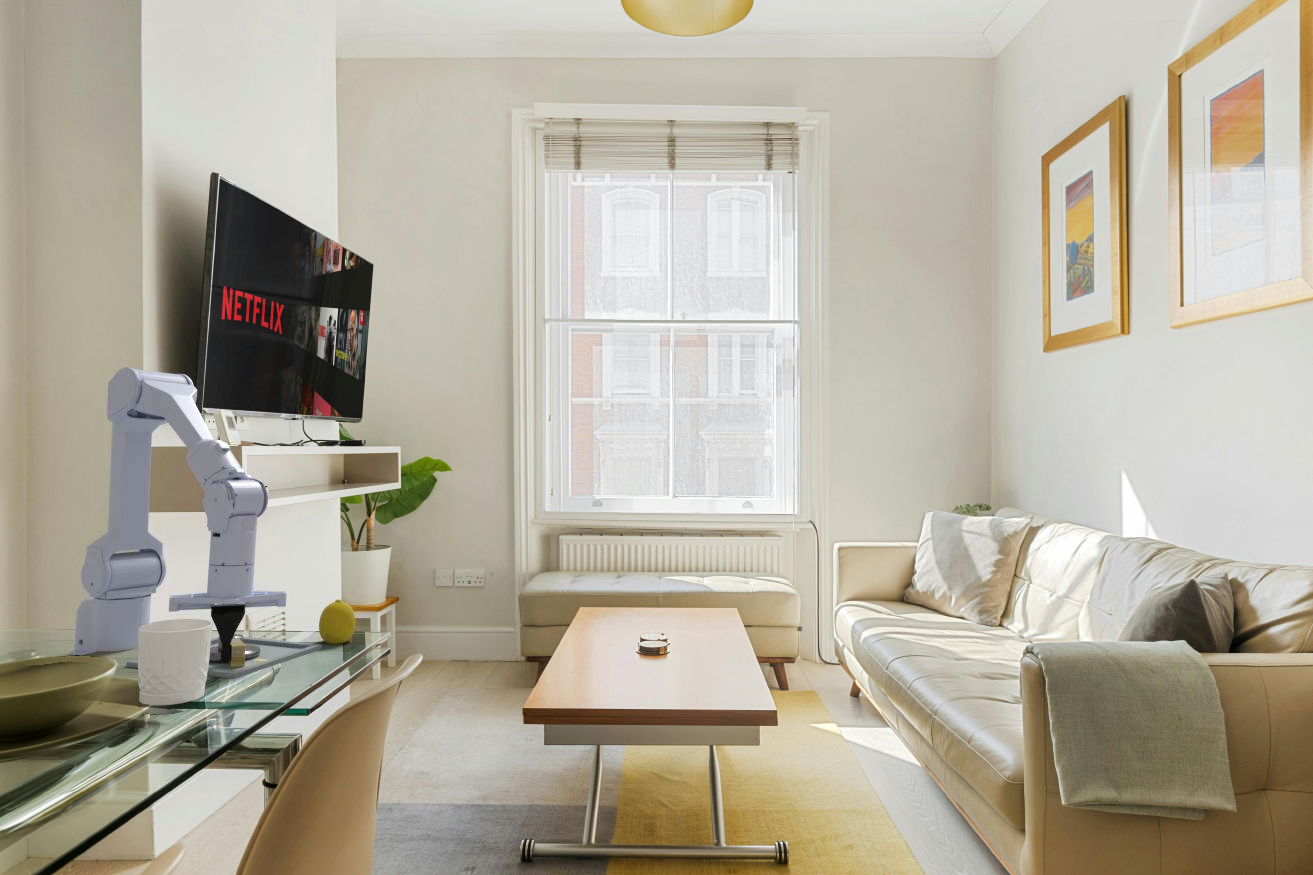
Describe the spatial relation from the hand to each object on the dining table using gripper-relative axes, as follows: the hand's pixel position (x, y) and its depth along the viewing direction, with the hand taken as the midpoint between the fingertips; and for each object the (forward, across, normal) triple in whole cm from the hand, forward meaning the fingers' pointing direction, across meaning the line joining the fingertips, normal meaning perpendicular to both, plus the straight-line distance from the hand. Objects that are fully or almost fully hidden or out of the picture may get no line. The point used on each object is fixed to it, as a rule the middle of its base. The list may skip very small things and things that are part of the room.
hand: (225, 659), depth 110 cm
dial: (+1, +1, +4) cm, 4 cm away
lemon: (+2, +16, +10) cm, 19 cm away
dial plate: (+2, +1, +6) cm, 6 cm away
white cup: (+2, -6, -13) cm, 14 cm away
